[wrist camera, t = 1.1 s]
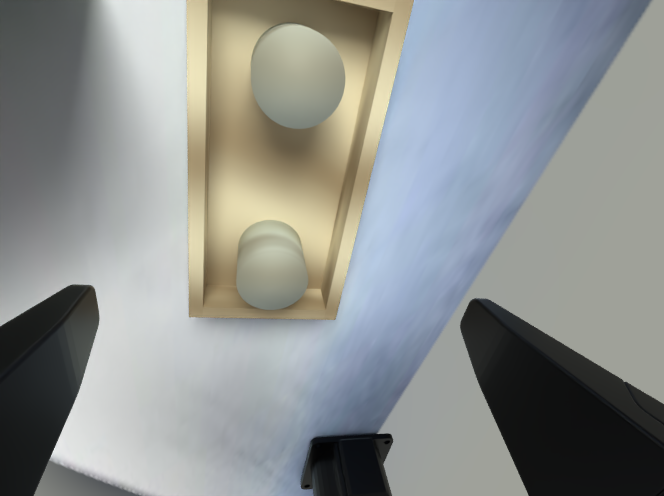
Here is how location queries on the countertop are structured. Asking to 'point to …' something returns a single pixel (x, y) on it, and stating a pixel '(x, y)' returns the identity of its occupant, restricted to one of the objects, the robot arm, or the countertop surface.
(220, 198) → the tan wooden rectangular tray
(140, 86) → the countertop surface
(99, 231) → the countertop surface
